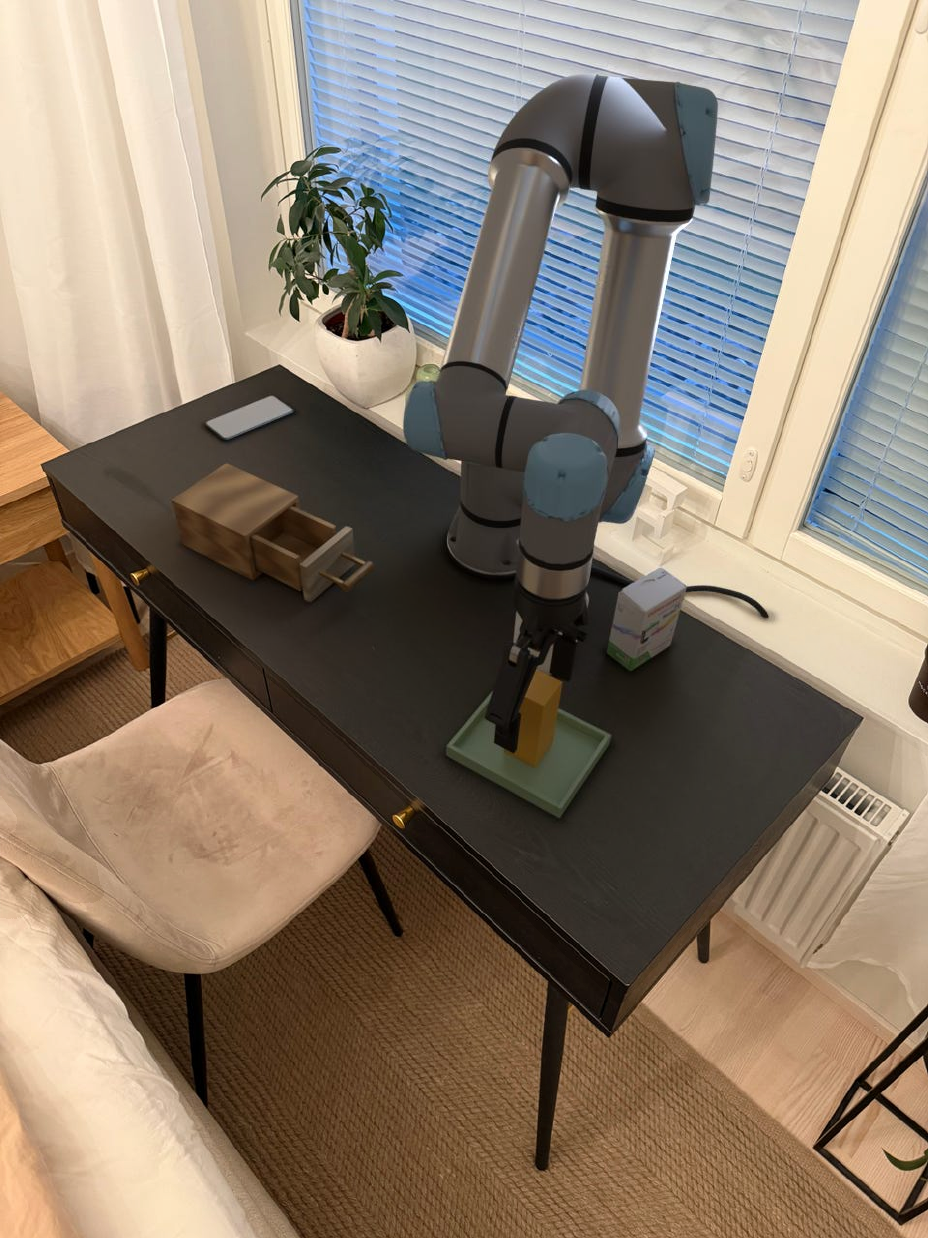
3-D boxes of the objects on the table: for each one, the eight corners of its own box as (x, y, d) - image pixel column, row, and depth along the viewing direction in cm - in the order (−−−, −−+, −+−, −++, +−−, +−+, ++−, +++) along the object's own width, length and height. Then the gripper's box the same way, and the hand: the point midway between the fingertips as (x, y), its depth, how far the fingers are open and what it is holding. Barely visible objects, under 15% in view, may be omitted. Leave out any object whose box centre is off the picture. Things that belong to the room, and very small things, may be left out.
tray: (609, 744, 114) (611, 734, 112) (559, 818, 106) (561, 809, 104) (500, 689, 120) (501, 679, 118) (445, 755, 112) (446, 745, 110)
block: (552, 744, 113) (562, 681, 104) (534, 768, 110) (543, 706, 102) (521, 728, 114) (529, 665, 106) (503, 751, 112) (509, 689, 103)
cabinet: (303, 539, 140) (298, 495, 134) (253, 580, 133) (244, 536, 127) (234, 506, 146) (226, 462, 139) (182, 544, 138) (171, 499, 132)
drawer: (384, 577, 133) (382, 542, 128) (340, 618, 127) (337, 582, 122) (287, 530, 140) (282, 496, 135) (240, 566, 134) (234, 531, 129)
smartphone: (294, 409, 165) (224, 439, 158) (295, 412, 166) (225, 441, 158) (273, 394, 169) (203, 422, 161) (273, 396, 169) (204, 424, 162)
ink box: (630, 673, 122) (645, 612, 114) (604, 652, 125) (617, 590, 117) (672, 645, 126) (689, 584, 118) (646, 625, 129) (661, 564, 121)
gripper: (575, 504, 101) (556, 636, 116) (455, 633, 86) (450, 764, 101) (636, 528, 98) (607, 660, 113) (522, 666, 83) (507, 796, 98)
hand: (533, 709), depth 107 cm, fingers open, 12 cm apart
